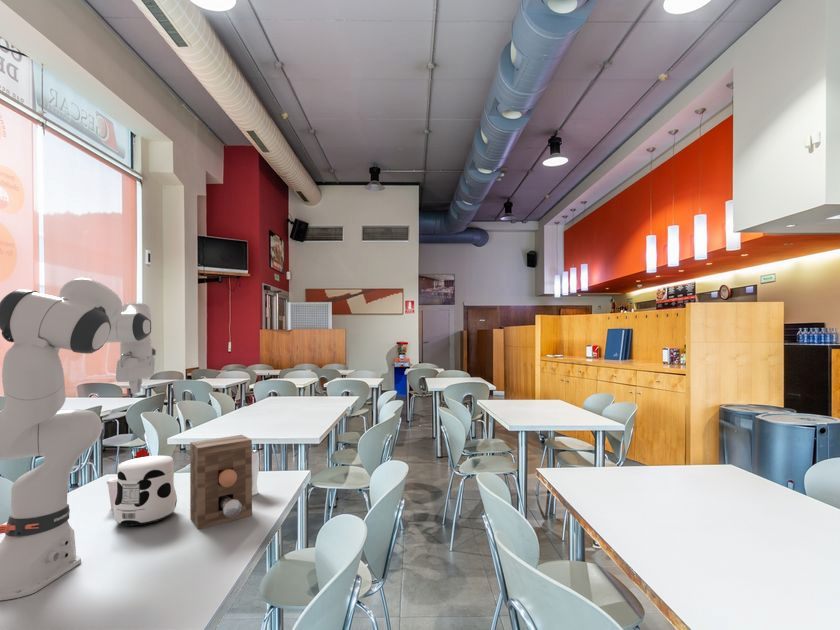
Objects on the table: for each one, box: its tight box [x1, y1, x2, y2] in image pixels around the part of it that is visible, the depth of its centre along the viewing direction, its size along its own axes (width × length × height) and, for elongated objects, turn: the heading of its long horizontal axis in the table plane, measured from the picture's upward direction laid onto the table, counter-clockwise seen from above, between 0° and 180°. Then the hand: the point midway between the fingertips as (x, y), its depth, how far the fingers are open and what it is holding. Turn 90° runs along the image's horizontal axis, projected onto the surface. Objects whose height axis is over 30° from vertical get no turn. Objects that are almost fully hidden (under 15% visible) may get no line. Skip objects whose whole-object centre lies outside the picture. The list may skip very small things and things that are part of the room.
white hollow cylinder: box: [252, 449, 260, 497], centre depth 168 cm, size 7×7×15 cm
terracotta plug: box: [218, 469, 237, 487], centre depth 145 cm, size 8×5×5 cm, turn 38°
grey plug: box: [218, 495, 242, 518], centre depth 141 cm, size 8×5×5 cm, turn 38°
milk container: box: [112, 455, 178, 527], centre depth 147 cm, size 17×17×18 cm
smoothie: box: [106, 464, 119, 510], centre depth 158 cm, size 6×6×14 cm
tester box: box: [189, 434, 253, 530], centre depth 147 cm, size 10×16×24 cm, turn 128°
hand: (135, 393), depth 154 cm, fingers closed
